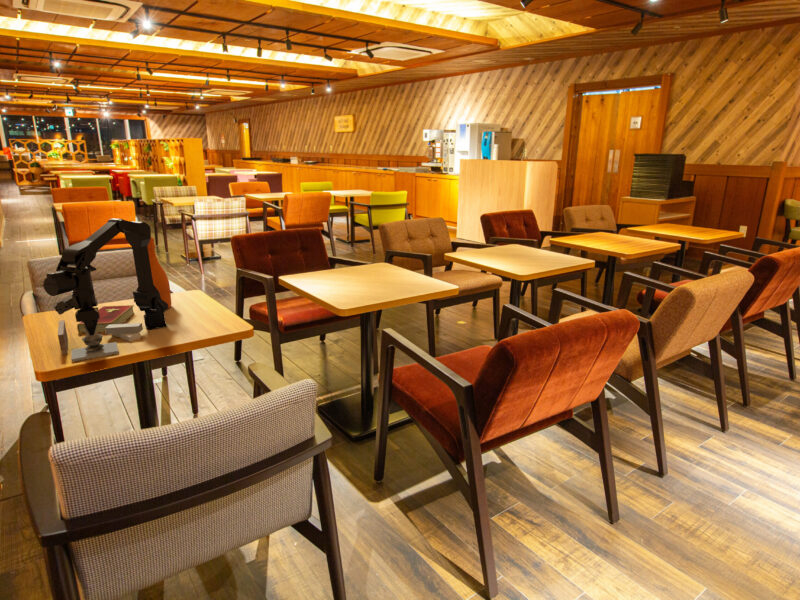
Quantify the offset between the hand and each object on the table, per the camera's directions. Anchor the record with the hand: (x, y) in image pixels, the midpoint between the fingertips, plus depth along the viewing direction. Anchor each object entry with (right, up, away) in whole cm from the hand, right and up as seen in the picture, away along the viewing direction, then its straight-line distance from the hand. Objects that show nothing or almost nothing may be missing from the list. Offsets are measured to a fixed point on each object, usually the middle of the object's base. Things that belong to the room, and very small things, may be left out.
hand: (91, 333), depth 161 cm
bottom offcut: (+2, -3, +17) cm, 17 cm away
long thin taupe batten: (-13, -5, +7) cm, 16 cm away
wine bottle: (-1, +7, +47) cm, 48 cm away
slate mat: (0, -7, +2) cm, 7 cm away
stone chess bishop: (0, -5, +2) cm, 5 cm away
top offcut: (+2, 0, +16) cm, 16 cm away
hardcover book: (-12, +2, +30) cm, 32 cm away
